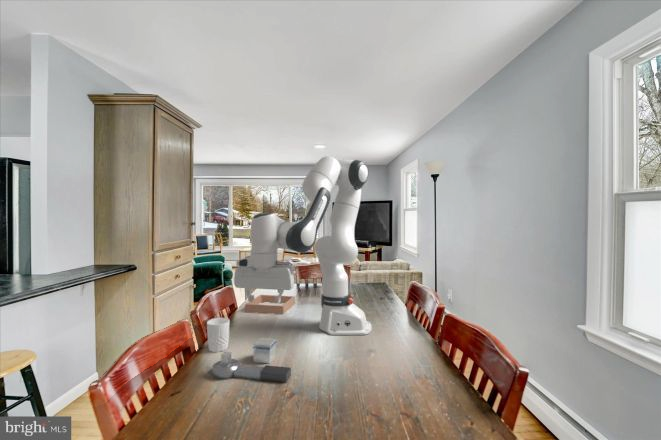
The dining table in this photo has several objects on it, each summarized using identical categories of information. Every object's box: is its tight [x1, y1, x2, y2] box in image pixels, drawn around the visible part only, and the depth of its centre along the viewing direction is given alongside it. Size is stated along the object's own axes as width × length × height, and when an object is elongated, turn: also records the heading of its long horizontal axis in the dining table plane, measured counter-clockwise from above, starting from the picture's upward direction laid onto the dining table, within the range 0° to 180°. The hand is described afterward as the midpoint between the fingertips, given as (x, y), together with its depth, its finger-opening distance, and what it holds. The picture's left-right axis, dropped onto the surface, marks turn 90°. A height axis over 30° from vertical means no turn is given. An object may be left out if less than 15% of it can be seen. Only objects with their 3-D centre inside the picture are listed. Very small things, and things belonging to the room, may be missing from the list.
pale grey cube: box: [252, 337, 277, 364], centre depth 107 cm, size 6×6×6 cm
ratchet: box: [211, 351, 292, 384], centre depth 96 cm, size 24×8×6 cm, turn 79°
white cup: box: [206, 317, 231, 353], centre depth 116 cm, size 8×8×10 cm
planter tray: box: [244, 294, 296, 315], centre depth 166 cm, size 20×19×4 cm
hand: (264, 301), depth 107 cm, fingers open, 8 cm apart
